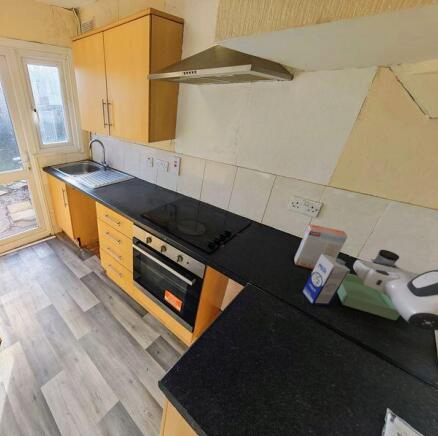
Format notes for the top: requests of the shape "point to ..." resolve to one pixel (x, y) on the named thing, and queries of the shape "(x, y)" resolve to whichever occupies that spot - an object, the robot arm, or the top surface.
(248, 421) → the top surface
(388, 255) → the food flask
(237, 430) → the top surface
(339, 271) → the milk carton
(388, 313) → the square green tray
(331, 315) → the top surface
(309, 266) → the cracker box
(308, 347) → the top surface
